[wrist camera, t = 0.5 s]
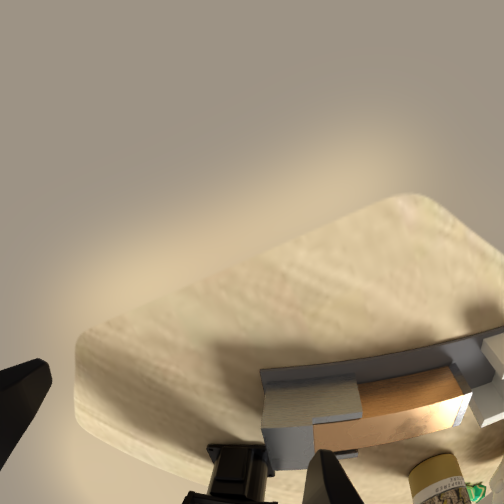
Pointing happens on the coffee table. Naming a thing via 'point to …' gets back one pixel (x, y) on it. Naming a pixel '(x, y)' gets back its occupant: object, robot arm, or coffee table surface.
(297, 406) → the sleeve
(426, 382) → the tan wooden block
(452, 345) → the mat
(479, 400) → the socket
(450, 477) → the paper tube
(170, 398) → the coffee table surface
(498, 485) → the camera
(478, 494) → the candy
